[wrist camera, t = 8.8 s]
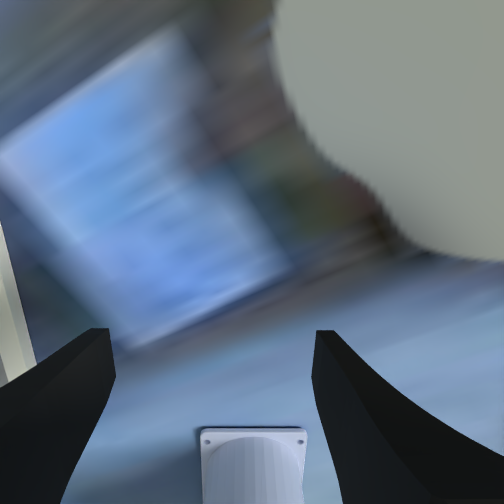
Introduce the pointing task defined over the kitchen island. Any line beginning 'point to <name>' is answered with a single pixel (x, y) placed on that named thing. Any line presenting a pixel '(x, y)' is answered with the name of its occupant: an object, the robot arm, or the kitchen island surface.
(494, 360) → the kitchen island surface
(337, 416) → the robot arm
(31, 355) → the coupling stand
